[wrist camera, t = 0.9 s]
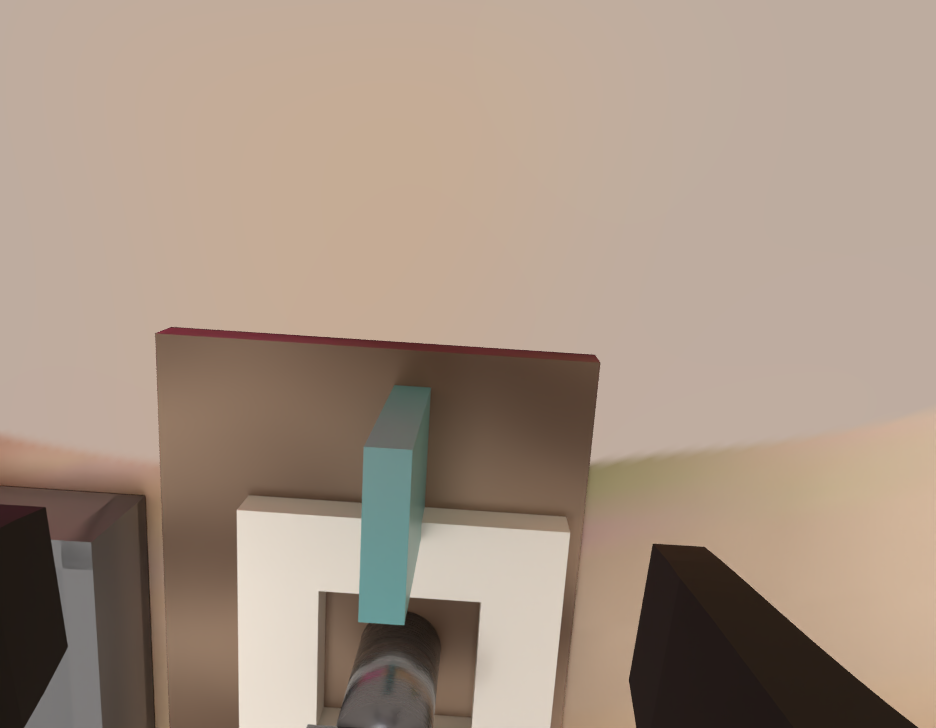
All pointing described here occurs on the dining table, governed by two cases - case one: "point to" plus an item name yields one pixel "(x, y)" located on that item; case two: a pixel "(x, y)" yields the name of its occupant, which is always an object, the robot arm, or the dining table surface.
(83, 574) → the charcoal tray
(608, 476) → the dining table surface
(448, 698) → the walnut plate
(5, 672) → the robot arm
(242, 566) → the cream ring
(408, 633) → the metal T-head stake
